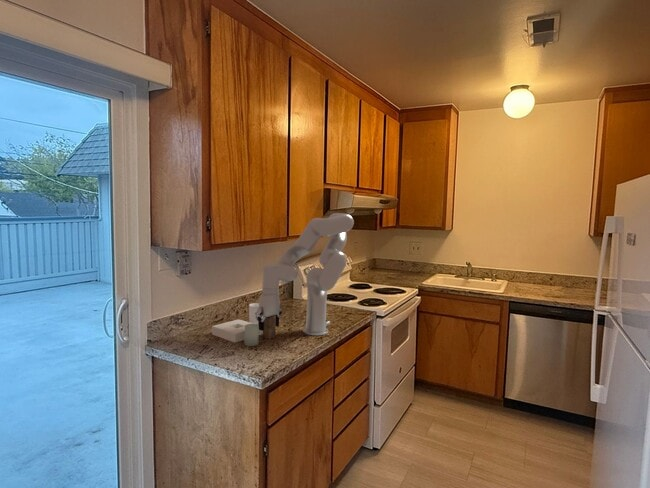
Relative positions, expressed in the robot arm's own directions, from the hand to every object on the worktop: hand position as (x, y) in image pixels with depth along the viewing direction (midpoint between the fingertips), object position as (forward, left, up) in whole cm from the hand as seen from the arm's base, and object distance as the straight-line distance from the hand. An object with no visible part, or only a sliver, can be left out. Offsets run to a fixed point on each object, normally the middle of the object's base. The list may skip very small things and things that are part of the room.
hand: (268, 327), depth 180 cm
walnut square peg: (0, 0, -4) cm, 4 cm away
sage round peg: (+12, +1, -4) cm, 12 cm away
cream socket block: (+8, -13, -4) cm, 16 cm away
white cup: (-10, -19, -5) cm, 22 cm away
